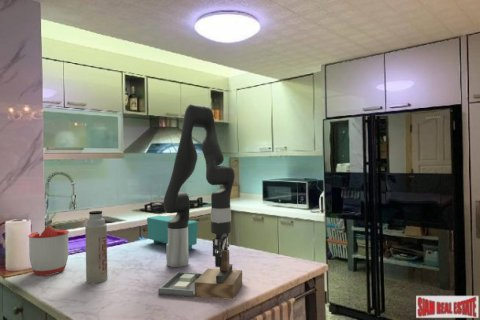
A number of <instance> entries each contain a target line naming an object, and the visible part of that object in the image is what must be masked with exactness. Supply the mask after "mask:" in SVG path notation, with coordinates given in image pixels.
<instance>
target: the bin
mask: <svg viewBox="0 0 480 320" xmlns="http://www.w3.org/2000/svg"><path fill="white" fill-rule="evenodd" d="M203 273H204V272H201V273H200V272H186V271H185V272H184V271H177V272H176V273H174V274H173V275H172V276H171V277H170V278H169V279H167V281H165V282H164V283H162V284H161V285H160V286H159V287H158V289H157V290H158V293H157V294H158V296H162V297H163V296H164V297H177V298H189V299H190V298H191V299H193V298H194V297H196V296H195V283H194V282H195V281H196V280H197V279H198V278H199V277H200V276H201V275H202V274H203ZM184 274H195V280H194V281H193V282H192V283H191V284H190V288H189V289H188V290H187V289H174V285H176V284H177V283H178V282H179V281H180V277H181V276H182V275H184Z"/></svg>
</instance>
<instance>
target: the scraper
mask: <svg viewBox="0 0 480 320" xmlns="http://www.w3.org/2000/svg"><path fill="white" fill-rule="evenodd" d="M221 257H222V266H221V267H219V269H220V272H219V273H218V274H217V276H216V283H222V284H223V283H224V281H225V280H226V279H227V277H228V276H229V275H230V273H231V272H232V270H233V264H232V263H230V250H229V249H228V250H224V251H222V256H221Z"/></svg>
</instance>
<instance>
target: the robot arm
mask: <svg viewBox="0 0 480 320" xmlns="http://www.w3.org/2000/svg"><path fill="white" fill-rule="evenodd" d="M194 128H201V129H204V130H205V136H204V138H203V140H202V143H201V150H202V154H203V157H204V159H205V167H206V170H205V172H206V173H205V179H206V181H207V182H208V184H209V185H211V186H221V188H220V189H219V190H215V191H214V192H212V193H211V195H210V197H211V198H210V200H211V201H210V202H211V204H210V205H211V207H210V208H211V209H210V232H211V234H215V238H213V239H212V257H214V260H215V261H214V264H215V267H216V268H220V267H221V266H222V257H221V256H222V251H224V250H229V247H230V234H231V232H232V209H231V195H232V190H233V186H234V182H235V177H236V176H235V174H236V173H235V170H234V168H233V167H232V166H230V165H221V164H223V162H224V159H225V158H224V154H223V152H222V149H221V147H220V146H221V145H220V143H219V140H218V135H217V128H216V122H215V118H214V113H213V111H212V109H211V108H210V107H209V106H205V105H201V104H200V105H198V104H193V103H190V104H188V105H187V106H186V108H185V111H184V116H183V123H182V128H181V135H180V140H179V144H178V148H177V152H176V154H175V159H174V163H173V168H172V173H171V177H170V180H169V183H168V186H167V187H166V188H167V189H166V190H165V193H164V198H163V205H162V206H163V210H164V212H166V213H168V214H175V216H174V217H172V218H173V219H171V220H170V221H168V244H167V243H166V245H165V247H166V250H165V251H166V252H165V253H166V255H165V256H166V266H169V267H171V268H181V267H182V268H183V267H186V266H187V265H189V263H190V262H189V250H188V222H189V220H190V208H191V207H190V206H191V205H190V197H189V194H188V193H187V192H185V191H180V190H181V188H182V186H183V185H184V184H185V183H186V181H187V180H188V179H189V178H190V177H191V175H193V173H194V171H195V169H196V165H197V162H198V151H197V149H196V146H195V144H194V141H193V131H194V130H193V129H194Z"/></svg>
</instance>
